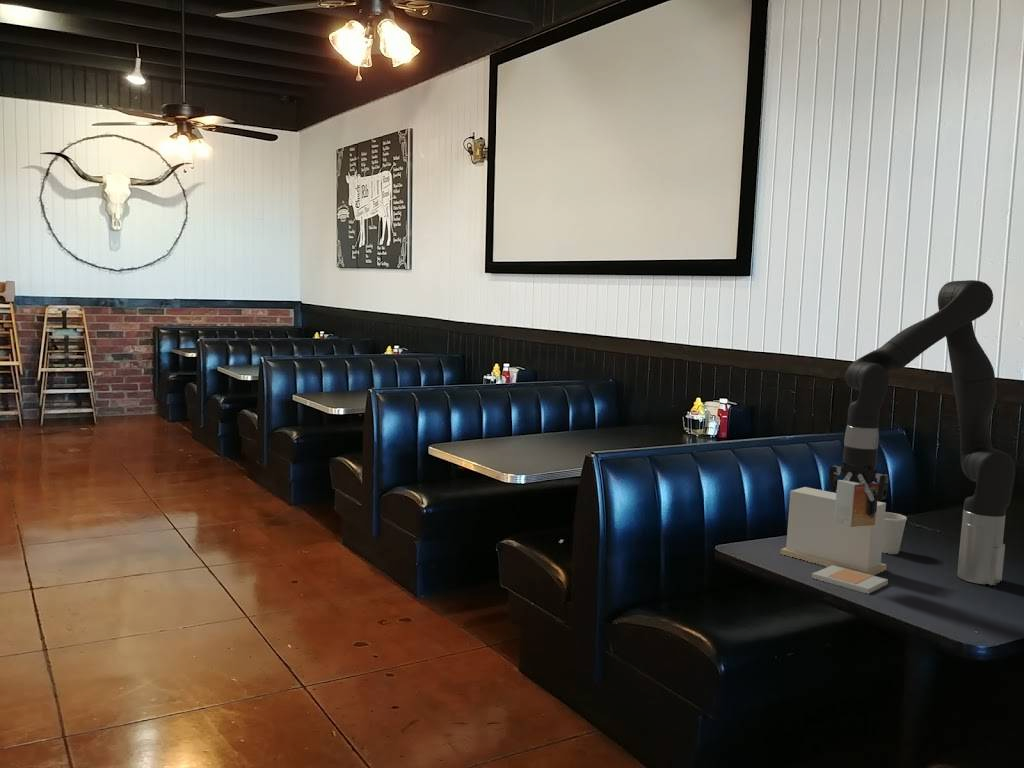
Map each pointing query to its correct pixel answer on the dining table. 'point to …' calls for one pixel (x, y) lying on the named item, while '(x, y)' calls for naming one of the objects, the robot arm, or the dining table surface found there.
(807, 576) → the dining table surface
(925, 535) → the dining table surface
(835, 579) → the pad
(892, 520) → the dixie cup
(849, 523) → the small box
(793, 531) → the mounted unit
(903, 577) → the dining table surface
